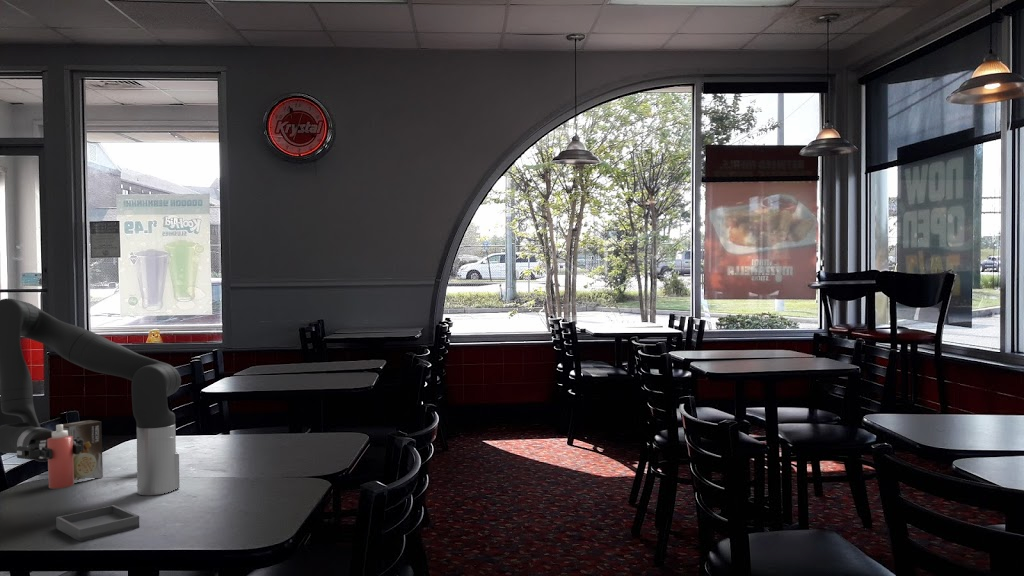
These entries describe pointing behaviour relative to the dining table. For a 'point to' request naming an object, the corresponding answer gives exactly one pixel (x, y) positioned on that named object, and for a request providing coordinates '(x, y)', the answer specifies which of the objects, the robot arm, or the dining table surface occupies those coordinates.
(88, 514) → the tray
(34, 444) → the robot arm
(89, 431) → the coffee box
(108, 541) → the dining table surface
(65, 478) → the bottle
